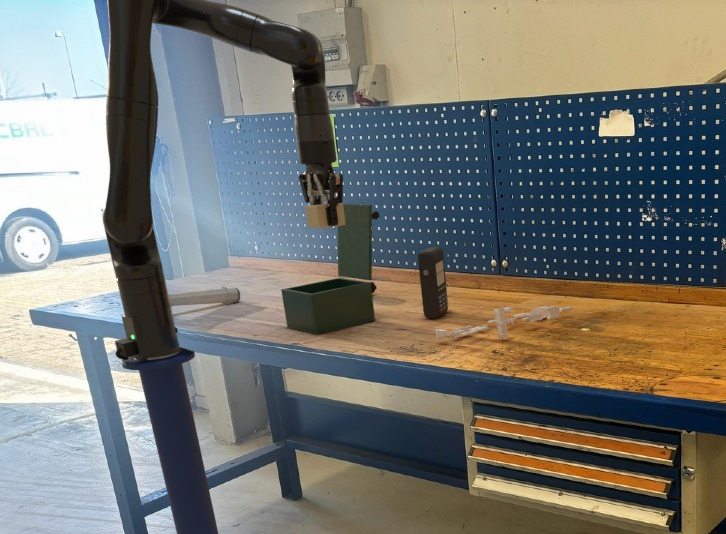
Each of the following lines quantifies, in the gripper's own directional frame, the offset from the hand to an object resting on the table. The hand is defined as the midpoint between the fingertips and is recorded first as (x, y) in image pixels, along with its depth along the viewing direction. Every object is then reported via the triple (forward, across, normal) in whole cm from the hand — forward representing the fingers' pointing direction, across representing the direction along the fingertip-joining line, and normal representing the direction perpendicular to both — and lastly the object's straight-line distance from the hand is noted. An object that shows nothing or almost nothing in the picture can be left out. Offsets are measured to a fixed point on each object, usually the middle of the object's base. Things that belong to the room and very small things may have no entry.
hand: (326, 224), depth 179 cm
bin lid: (+6, -9, +12) cm, 15 cm away
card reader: (+23, +6, +22) cm, 33 cm away
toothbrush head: (+23, -55, -9) cm, 61 cm away
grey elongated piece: (+23, +31, +20) cm, 43 cm away
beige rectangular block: (0, 0, 0) cm, 0 cm away
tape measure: (+23, -29, +26) cm, 45 cm away
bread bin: (+23, -8, +3) cm, 25 cm away
